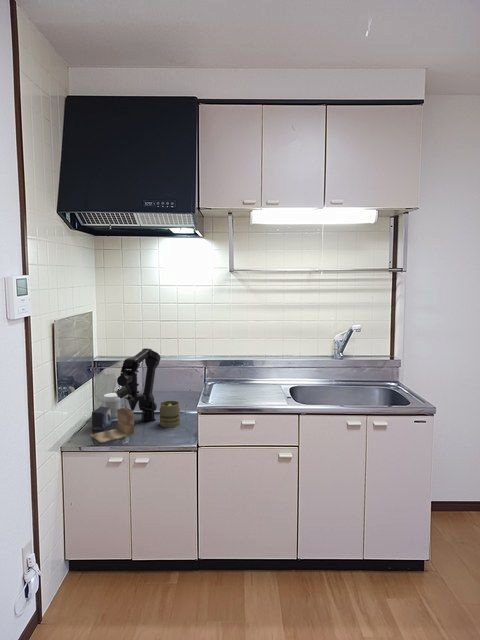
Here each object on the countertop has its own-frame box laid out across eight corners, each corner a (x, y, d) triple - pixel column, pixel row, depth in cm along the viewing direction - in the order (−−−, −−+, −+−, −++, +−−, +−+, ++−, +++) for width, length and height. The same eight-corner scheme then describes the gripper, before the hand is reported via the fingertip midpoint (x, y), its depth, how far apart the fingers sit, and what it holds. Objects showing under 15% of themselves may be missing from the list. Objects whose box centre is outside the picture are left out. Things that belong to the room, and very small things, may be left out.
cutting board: (115, 430, 257) (115, 429, 257) (126, 436, 247) (126, 435, 247) (90, 435, 248) (90, 434, 248) (100, 442, 238) (100, 441, 238)
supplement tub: (124, 419, 275) (123, 394, 274) (109, 423, 269) (108, 397, 267) (116, 415, 282) (115, 391, 281) (101, 419, 276) (100, 394, 274)
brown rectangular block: (127, 428, 259) (126, 407, 258) (134, 433, 252) (134, 411, 251) (117, 430, 256) (117, 409, 254) (125, 435, 249) (124, 413, 247)
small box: (102, 431, 255) (102, 412, 254) (91, 430, 256) (91, 411, 255) (111, 425, 265) (111, 406, 264) (101, 424, 267) (100, 406, 265)
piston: (179, 400, 272) (180, 405, 260) (179, 420, 273) (180, 426, 262) (159, 401, 270) (159, 406, 259) (160, 421, 271) (159, 427, 260)
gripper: (110, 381, 256) (111, 409, 257) (125, 387, 241) (126, 417, 243) (129, 378, 263) (129, 405, 264) (145, 384, 248) (146, 413, 250)
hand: (132, 410), depth 255 cm, fingers closed
